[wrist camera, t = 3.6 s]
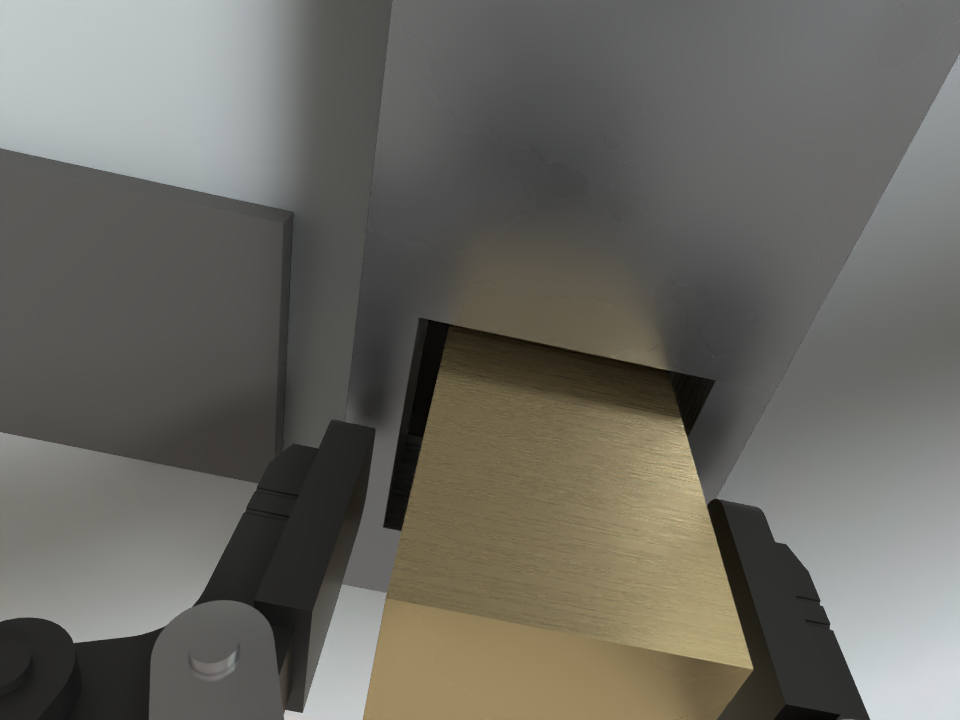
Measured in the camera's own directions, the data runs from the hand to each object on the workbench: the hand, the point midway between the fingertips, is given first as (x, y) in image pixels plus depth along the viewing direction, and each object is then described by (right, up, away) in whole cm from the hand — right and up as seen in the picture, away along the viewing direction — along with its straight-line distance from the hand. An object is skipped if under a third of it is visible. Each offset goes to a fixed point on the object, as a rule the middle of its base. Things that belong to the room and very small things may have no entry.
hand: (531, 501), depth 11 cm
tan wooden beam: (0, +2, +3) cm, 4 cm away
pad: (-9, +3, +4) cm, 10 cm away
